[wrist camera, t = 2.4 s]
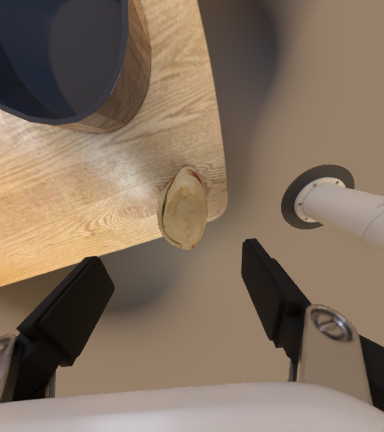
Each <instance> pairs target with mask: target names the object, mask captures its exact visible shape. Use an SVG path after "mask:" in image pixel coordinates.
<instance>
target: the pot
mask: <svg viewBox="0 0 384 432" xmlns="http://www.w3.org/2000/svg"><path fill="white" fill-rule="evenodd" d="M150 73H151V49H150V41H149V35H148V30H147V26H146V20H145V16H144V13H143V10H142V7H141V4H140V1H139V0H0V109H1V110H3V111H5V112H7V113H10V114H12V115H15V116H17V117H19V118H22V119H24V120H27V121H29V122H33V123H39V124H44V125H50V126H55V127H60V128H66V129H71V130H76V131H82V132H88V133H95V134H97V133H107V132H112V131H114V130H117V129H119V128H121V127H123V126H124V125H126V124H127V123H128V122H129V121H130V120H132V119H133V117H134V116H135V115H136V114H137V112H138V111H139V109H140V107H141V106H142V104H143V101H144V99H145V97H146V93H147V90H148V86H149V81H150Z"/></svg>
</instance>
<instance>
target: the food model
mask: <svg viewBox="0 0 384 432" xmlns="http://www.w3.org/2000/svg"><path fill="white" fill-rule="evenodd" d="M207 215H208V206H207V195H206V188H205V184H204V182H203V180H202V177H201V175H200V174H199V172H198V171H197V170H196V169H195V168H194V167H192V166H190V165H187V166H184V167H182V168H181V170H180V171H179V173H178V174H177V176H176V178H175V177H173V178H172V179H171V180H170V181H169V183H168V184H167V185H166V187H165V188H164V190H163V191H162V192H161V193H160V196H159V199H158V208H157V217H158V225H159V228H160V230H161V233H162V235H163V236H164V237H165V238H166V240H167V241H168V242H169V243H171V244H172V245H174V246H176V247H179V248H183V249H187V250H189V249H191V248H193V247H194V246H195V245H196V244H197V243H198V242H199V240H200V238H201V237H202V235H203V232H204V229H205V226H206V221H207Z"/></svg>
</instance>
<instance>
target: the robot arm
mask: <svg viewBox="0 0 384 432" xmlns="http://www.w3.org/2000/svg"><path fill="white" fill-rule="evenodd" d="M294 210H295V213H296V215H297V216H298V217H299V218H300V219H302V220H303V221H306V222H319V223H321V224H323V225H325V226H327V227H328V228H330V229H332V230H334V231H336V232H337V233H339V234H341V235H343V236H345V237H346V238H348V239H350V240H352V241H354V242H356V243H358V244H359V245H361V246H363V247H365V248H367V249H369V250H370V251H372V252H374V253H376V254H378V255H381V256H383V257H384V196H380V195H375V194H371V193H367V192H362V191H358V190H354V189H349V188H345V185H344V183H343V182H342V181H341V180H339V179H337V178H332V177H324V178H319V179H316V180H314V181H312V182H311V183H309V184H308V185H306V186H305V187H304V188H303V189H302V190H301V191H300V193H299V194H298V196H297V198H296V200H295V204H294ZM241 274H242V278H243V281H244V283H245V285H246V287H247V290H248V292H249V295H250V297H251V299H252V301H253V304H254V306H255V309H256V311H257V313H258V316H259V318H260V320H261V323H262V325H263V327H264V330H265V332H266V334H267V336H268V338H269V340H273V342H274V344H275V347H276V348H282V347H283V348H284V350H285V352H286V355H287V356H288V357H289V367H288V373H287V381H286V382H282V381H281V382H280V381H271V382H253V383H233V384H219V385H205V386H192V387H179V388H166V389H154V390H141V391H129V392H117V393H105V394H92V395H81V396H69V397H58V398H55V380H56V379H55V378H56V369H57V367H58V365H60V366H61V367H67V366H72V365H73V363H74V361H75V360H76V358H77V357H78V356H79V355H80V354H81V352H82V350H83V348H84V347H85V345H86V343H87V341H88V339H89V337H90V335H91V333H92V331H93V330H94V328H95V326H96V324H97V322H98V320H99V318H100V316H101V314H102V313H103V311H104V309H105V307H106V305H107V303H108V302H109V300H110V298H111V296H112V294H113V292H114V289H115V288H114V284H113V282H112V280H111V279H110V277H109V275H108V273H107V271H106V269H105V267H104V265H103V263H102V261H101V259H100V258H98V257H97V256H92V257H86V258H84V259H83V260H82V261H81V262H80V263H79V264H78V265H77V266H76V267H75V268H74V269H73V271H72V272H71V273H70V274H69V275H68V276H67V277H66V278H65V279H64V280H63V281H62V282H61V283H60V284H59V285H58V286H57V287H56V288H55V289H54V290H53V291H52V292H51V293H50V294H49V295H48V296H47V297H46V298H45V299H44V300H43V301H42V302H41V303H40V304H39V305H38V306H37V308H35V310H34V311H33V312H32V313H31V314H30V315H29V316H28V317H27V318H26V319H25V320H24V321H23V322H22V323H21V324H20V325H19V326H18V327H17V330H18V331H19V332H21V333H20V334H19V335H18V336H16V335H14V334H6V335H2V336H0V432H384V347H382V346H380V345H379V344H377V343H375V342H372V341H371V340H369V339H367V338H365V337H363V336H361V335H359V334H358V333H357V330H356V329H355V327H354V326H353V325H352V323H351V322H350V321H349V320H348V319H347V318H346V317H345V316H343V315H342V314H340V313H339V312H337V311H336V310H334V309H332V308H330V307H327V306H324V305H320V304H311V303H310V301H309V300H308V299H307V298H306V296H305V295H304V294H303V293H302V292H301V291H300V289H299V288H298V287H297V285H296V284H295V283H294V282H293V281H292V279H291V278H290V277H289V276H288V274H287V273H286V272H285V270H284V269H283V268H282V267H281V266H280V264H279V263H278V262H277V261H276V260H275V259H273V258H271V257H270V256H269V255H268V253H267V252H266V251H265V250H264V249H263V247H262V246H261V245H260V243H259V242H258V241H257V239H255V238H254V239H246V240H245V242H243V247H242V268H241Z"/></svg>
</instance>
